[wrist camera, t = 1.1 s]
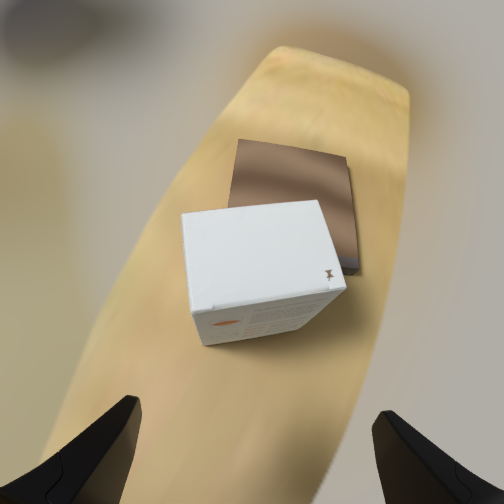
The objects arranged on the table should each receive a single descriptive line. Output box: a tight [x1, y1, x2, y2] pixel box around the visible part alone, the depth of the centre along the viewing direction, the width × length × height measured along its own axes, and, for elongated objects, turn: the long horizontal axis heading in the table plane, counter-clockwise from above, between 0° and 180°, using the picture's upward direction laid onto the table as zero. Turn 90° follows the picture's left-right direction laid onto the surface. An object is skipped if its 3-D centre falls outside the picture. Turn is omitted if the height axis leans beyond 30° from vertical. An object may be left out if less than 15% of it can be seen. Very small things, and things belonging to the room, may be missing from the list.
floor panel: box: [228, 139, 359, 275], centre depth 29 cm, size 14×12×2 cm
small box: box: [181, 200, 347, 346], centre depth 20 cm, size 8×6×10 cm
